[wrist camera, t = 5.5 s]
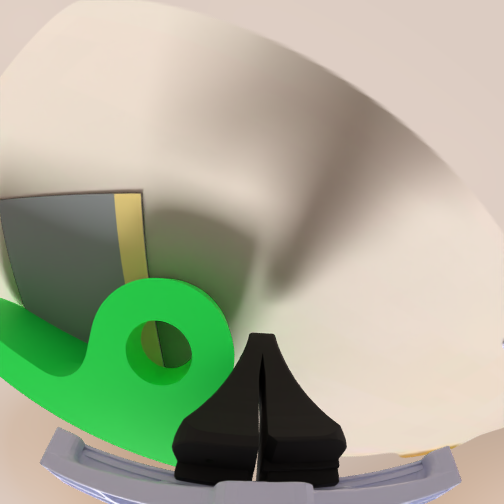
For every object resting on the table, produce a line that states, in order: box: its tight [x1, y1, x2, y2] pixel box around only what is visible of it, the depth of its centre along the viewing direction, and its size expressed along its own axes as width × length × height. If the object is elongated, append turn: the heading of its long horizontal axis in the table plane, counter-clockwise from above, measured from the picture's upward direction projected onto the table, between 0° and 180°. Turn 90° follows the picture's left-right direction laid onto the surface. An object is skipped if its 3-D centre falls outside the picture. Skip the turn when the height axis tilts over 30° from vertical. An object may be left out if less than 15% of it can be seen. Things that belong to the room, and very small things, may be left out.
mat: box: [0, 193, 165, 367], centre depth 16 cm, size 13×14×1 cm
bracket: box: [0, 278, 234, 467], centre depth 14 cm, size 20×10×7 cm
